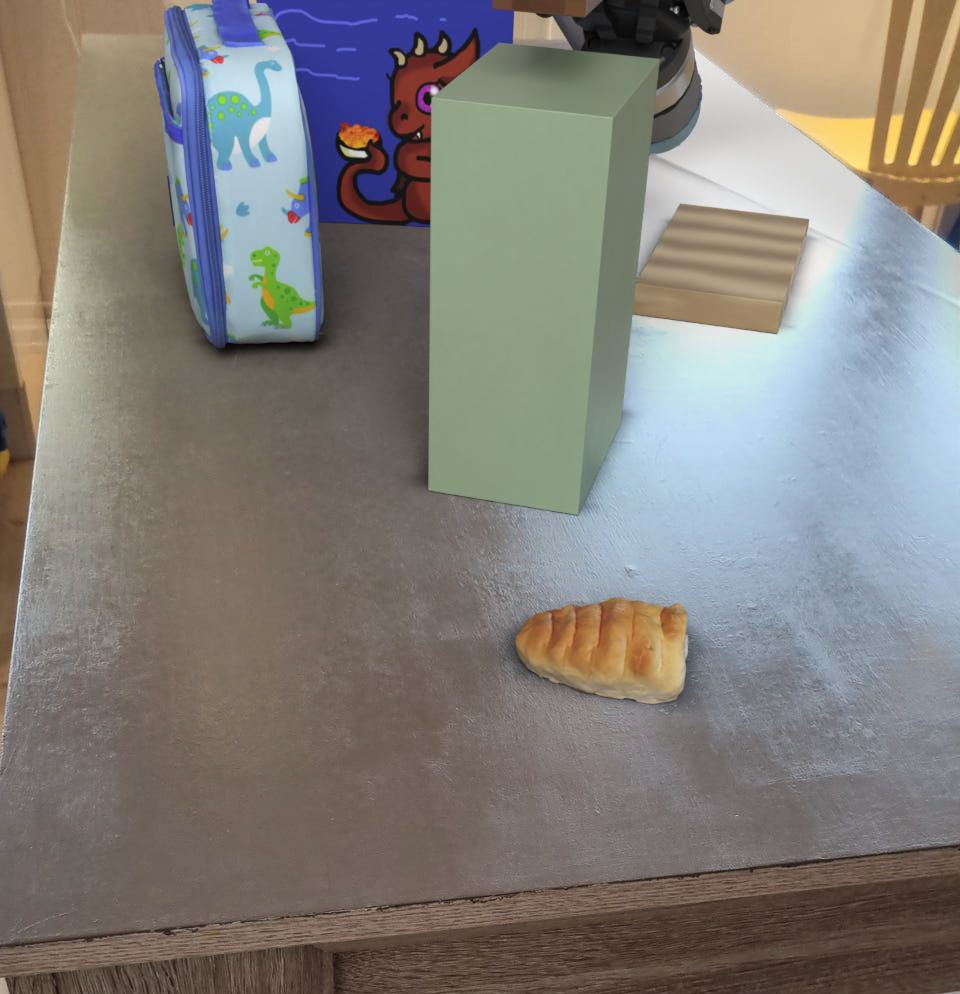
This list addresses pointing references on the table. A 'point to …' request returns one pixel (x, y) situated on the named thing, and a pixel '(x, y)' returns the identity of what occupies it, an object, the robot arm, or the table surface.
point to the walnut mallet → (548, 6)
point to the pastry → (610, 648)
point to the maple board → (722, 268)
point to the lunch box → (240, 174)
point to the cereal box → (380, 94)
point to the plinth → (534, 269)
